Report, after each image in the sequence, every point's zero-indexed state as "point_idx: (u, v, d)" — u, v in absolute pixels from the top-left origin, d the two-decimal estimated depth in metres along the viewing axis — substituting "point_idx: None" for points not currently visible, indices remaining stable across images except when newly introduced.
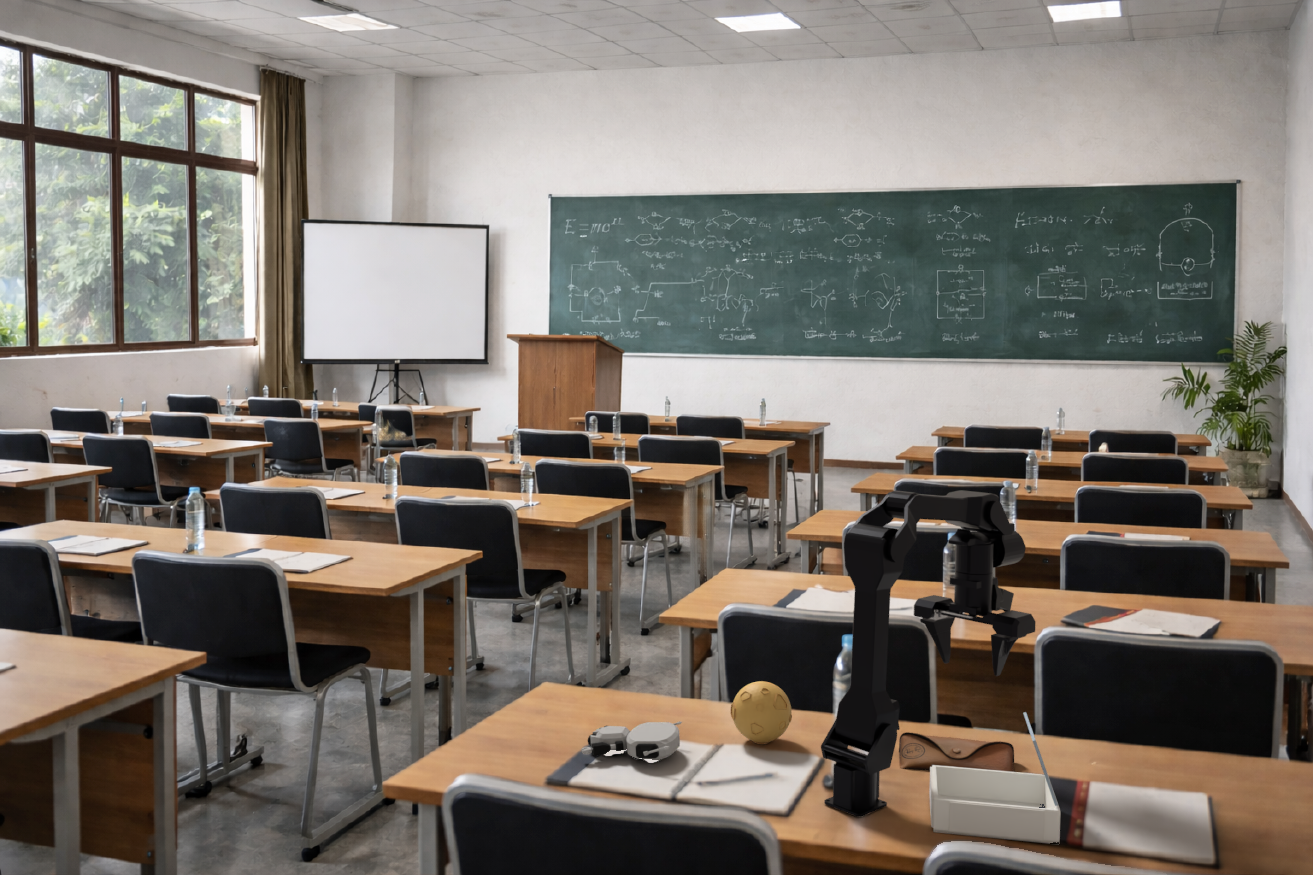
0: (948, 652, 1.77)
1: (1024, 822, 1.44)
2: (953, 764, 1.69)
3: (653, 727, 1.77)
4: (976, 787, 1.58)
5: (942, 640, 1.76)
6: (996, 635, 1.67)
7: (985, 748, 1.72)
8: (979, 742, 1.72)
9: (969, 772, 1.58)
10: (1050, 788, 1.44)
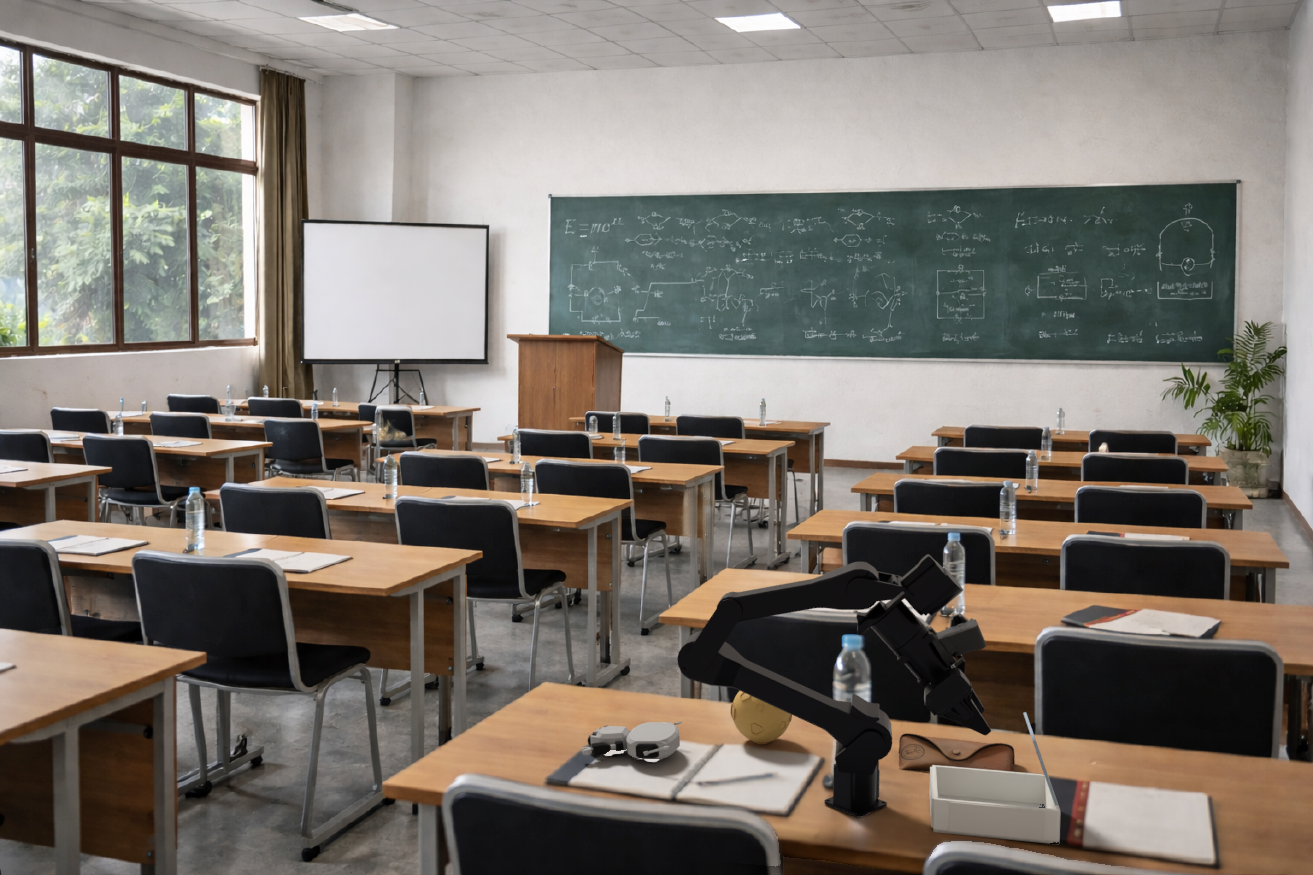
0: (975, 702, 1.56)
1: (1024, 822, 1.44)
2: (952, 766, 1.69)
3: (653, 727, 1.77)
4: (976, 787, 1.58)
5: None
6: None
7: (985, 750, 1.71)
8: (979, 743, 1.72)
9: (969, 772, 1.58)
10: (1050, 788, 1.44)
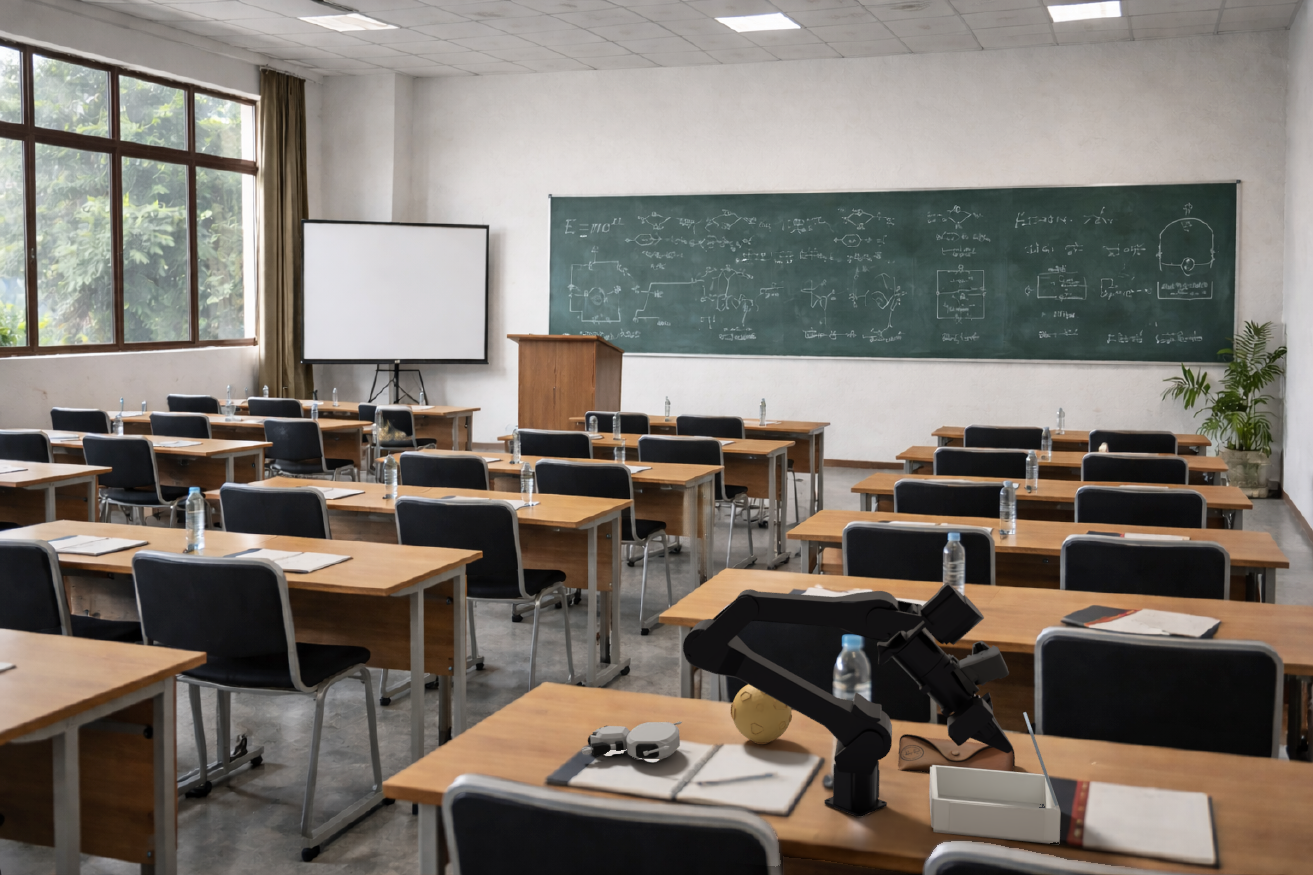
0: None
1: (1024, 822, 1.44)
2: None
3: (653, 727, 1.77)
4: (976, 787, 1.58)
5: None
6: None
7: (985, 751, 1.71)
8: (979, 745, 1.71)
9: (969, 772, 1.58)
10: (1050, 788, 1.44)
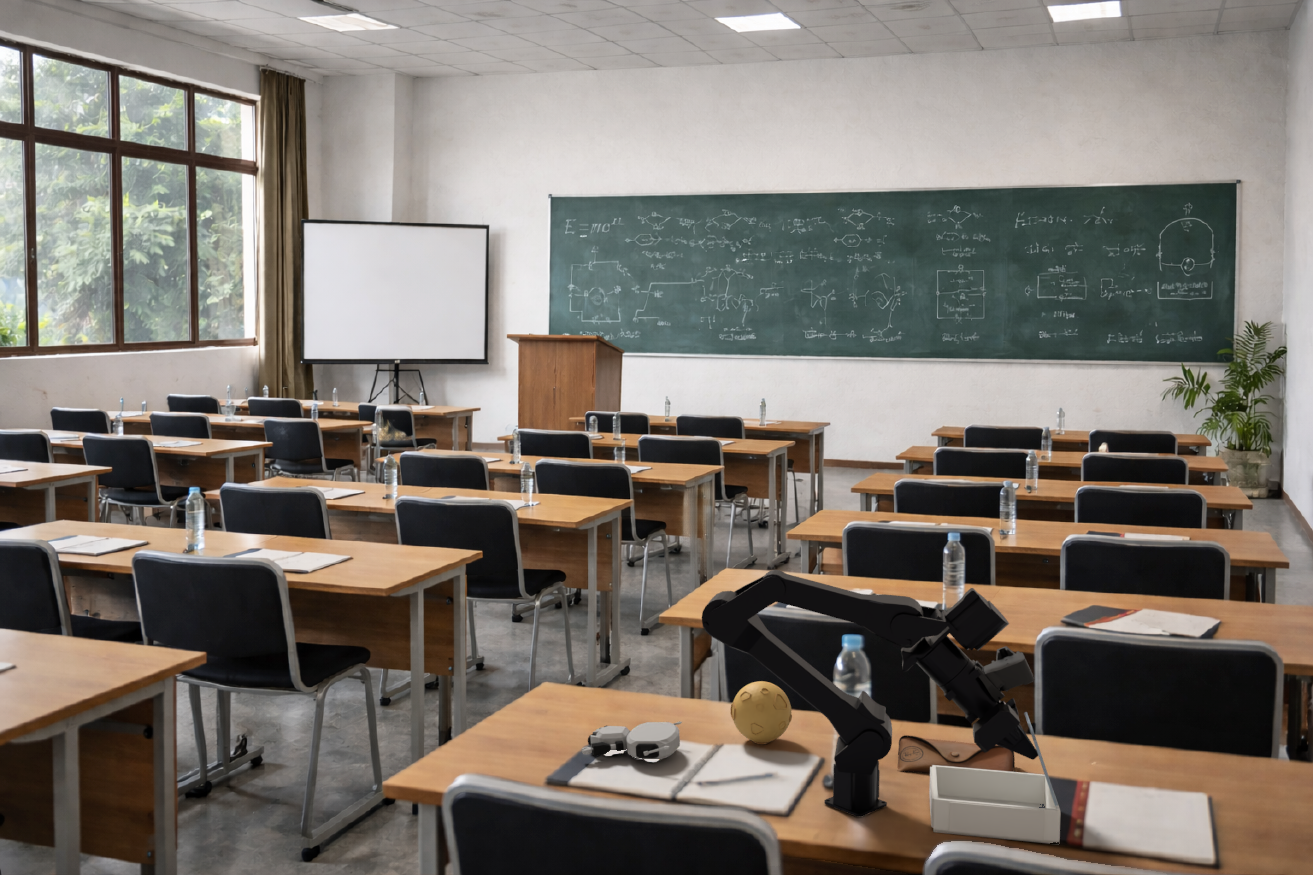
0: None
1: (1024, 822, 1.44)
2: None
3: (653, 727, 1.77)
4: (976, 787, 1.58)
5: None
6: None
7: None
8: None
9: (969, 772, 1.58)
10: (1050, 788, 1.44)
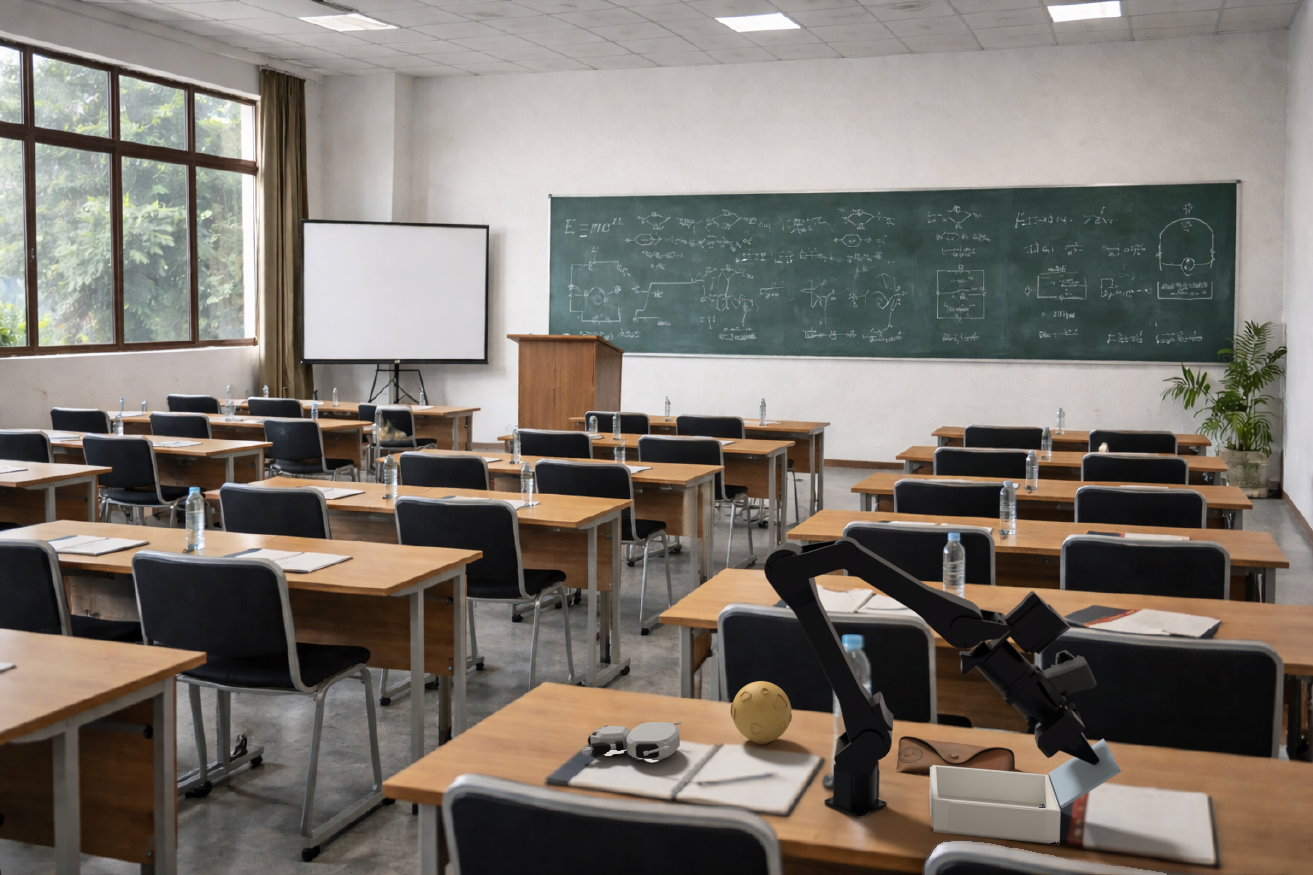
0: None
1: (1024, 822, 1.44)
2: None
3: (653, 727, 1.77)
4: (976, 787, 1.58)
5: None
6: None
7: (984, 753, 1.69)
8: (978, 747, 1.70)
9: (969, 772, 1.58)
10: (1076, 797, 1.44)
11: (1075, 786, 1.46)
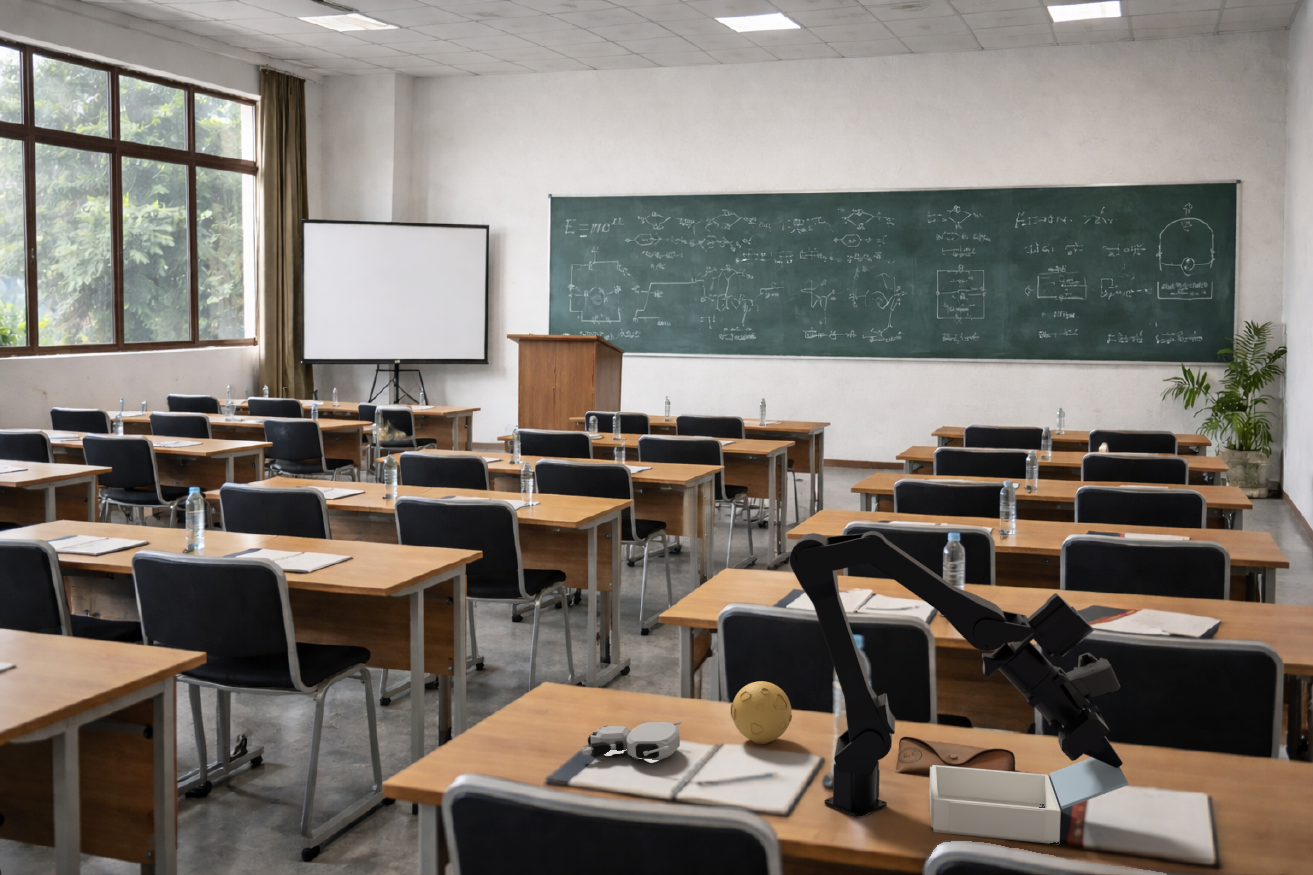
0: None
1: (1024, 822, 1.44)
2: None
3: (653, 727, 1.77)
4: (976, 787, 1.58)
5: None
6: None
7: (984, 755, 1.69)
8: (978, 748, 1.70)
9: (969, 772, 1.58)
10: (1078, 801, 1.43)
11: (1078, 790, 1.46)
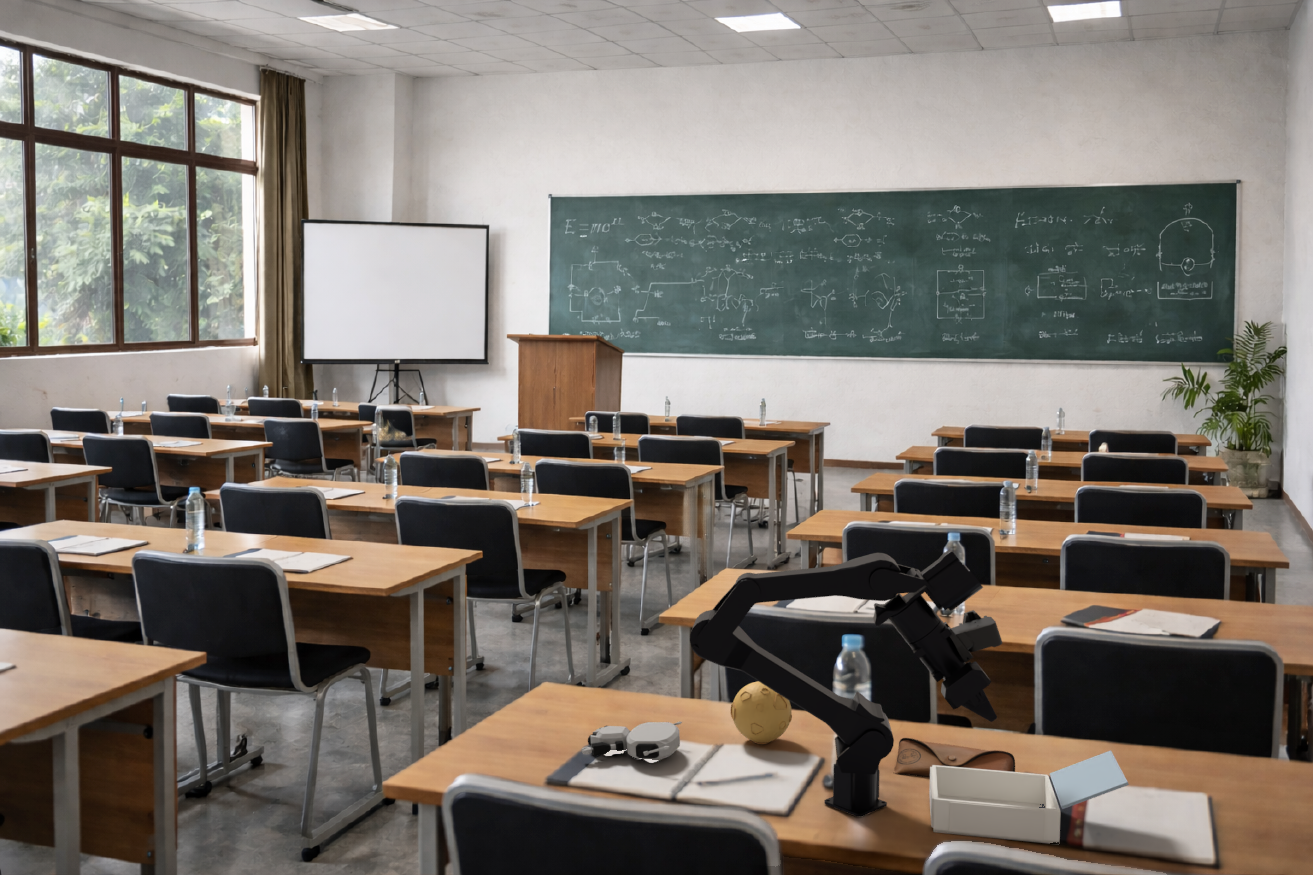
0: None
1: (1024, 822, 1.44)
2: None
3: (653, 727, 1.77)
4: (976, 787, 1.58)
5: None
6: None
7: (983, 757, 1.68)
8: (977, 750, 1.69)
9: (969, 772, 1.58)
10: (1078, 801, 1.43)
11: (1078, 790, 1.46)
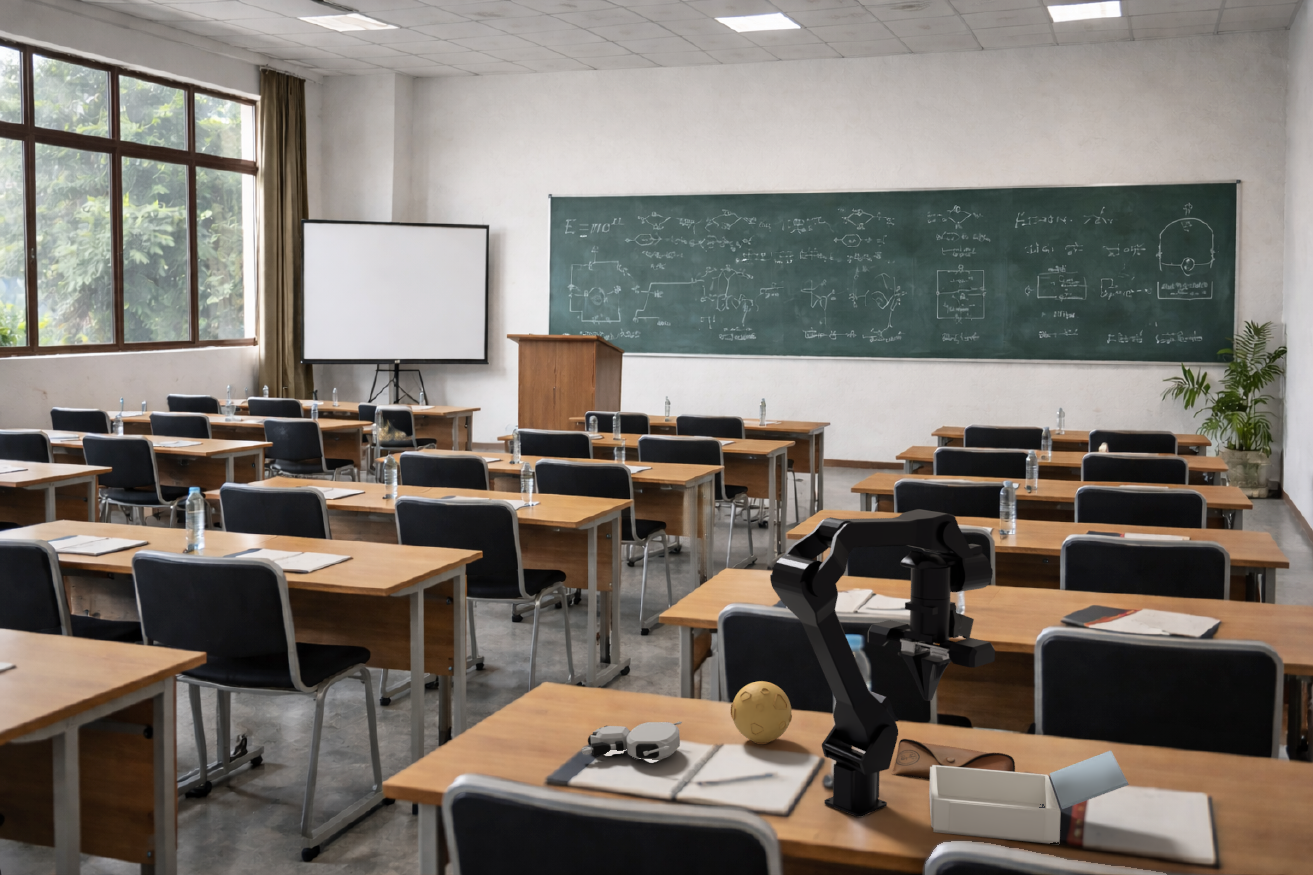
0: None
1: (1024, 822, 1.44)
2: None
3: (653, 727, 1.77)
4: (976, 787, 1.58)
5: (922, 675, 1.62)
6: (927, 658, 1.60)
7: (982, 759, 1.67)
8: (976, 752, 1.68)
9: (969, 772, 1.58)
10: (1078, 801, 1.43)
11: (1078, 790, 1.46)
